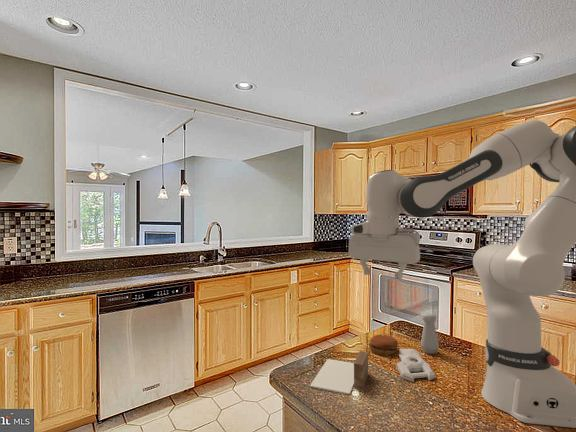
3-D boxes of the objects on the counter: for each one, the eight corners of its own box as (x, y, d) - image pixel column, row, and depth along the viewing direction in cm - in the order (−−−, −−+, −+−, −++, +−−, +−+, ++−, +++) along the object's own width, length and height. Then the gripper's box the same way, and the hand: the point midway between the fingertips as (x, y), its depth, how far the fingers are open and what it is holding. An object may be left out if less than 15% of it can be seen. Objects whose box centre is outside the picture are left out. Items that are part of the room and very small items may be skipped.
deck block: (368, 373, 97) (367, 352, 97) (362, 388, 88) (362, 364, 88) (360, 372, 97) (359, 350, 98) (354, 387, 89) (353, 363, 89)
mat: (361, 365, 102) (361, 364, 102) (349, 394, 85) (349, 393, 85) (327, 360, 106) (327, 358, 106) (309, 386, 89) (309, 385, 89)
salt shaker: (418, 348, 115) (417, 311, 115) (434, 348, 114) (434, 311, 114) (424, 355, 109) (424, 316, 109) (441, 355, 109) (441, 316, 109)
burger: (374, 356, 109) (374, 342, 109) (365, 345, 118) (365, 332, 118) (402, 355, 109) (402, 341, 109) (391, 344, 119) (391, 331, 119)
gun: (387, 345, 109) (418, 345, 109) (387, 355, 109) (417, 355, 109) (404, 374, 91) (441, 374, 91) (404, 385, 91) (440, 386, 91)
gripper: (423, 228, 87) (423, 279, 87) (356, 226, 101) (356, 271, 101) (415, 229, 83) (415, 283, 83) (345, 227, 96) (345, 273, 96)
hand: (382, 276), depth 92 cm, fingers open, 8 cm apart
